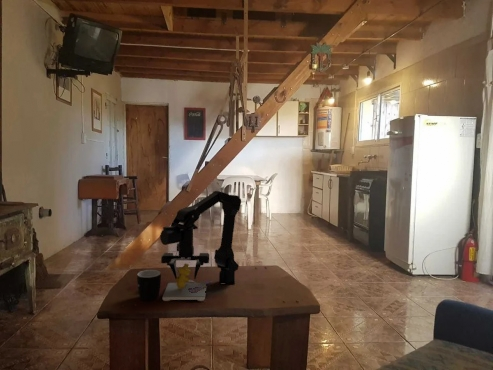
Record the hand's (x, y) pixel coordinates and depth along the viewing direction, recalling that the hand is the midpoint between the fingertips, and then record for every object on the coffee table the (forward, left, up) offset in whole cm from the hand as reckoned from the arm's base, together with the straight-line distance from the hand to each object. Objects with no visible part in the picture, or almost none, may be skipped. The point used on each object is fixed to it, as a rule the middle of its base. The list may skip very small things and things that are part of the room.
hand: (185, 278), depth 146 cm
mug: (+14, +5, -7) cm, 16 cm away
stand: (0, 0, -7) cm, 7 cm away
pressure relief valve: (+1, -2, -5) cm, 5 cm away
